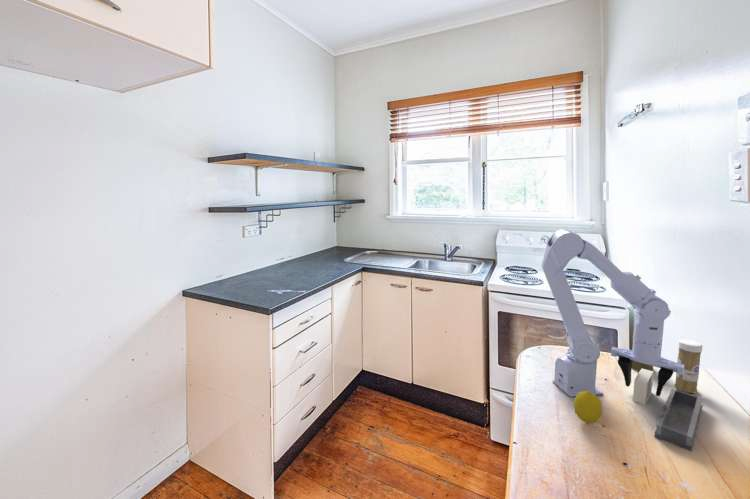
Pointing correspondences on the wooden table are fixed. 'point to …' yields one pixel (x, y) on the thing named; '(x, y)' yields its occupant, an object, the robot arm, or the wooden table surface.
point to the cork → (641, 365)
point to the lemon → (588, 407)
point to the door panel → (643, 386)
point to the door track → (679, 419)
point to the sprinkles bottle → (688, 365)
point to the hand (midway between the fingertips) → (642, 389)
